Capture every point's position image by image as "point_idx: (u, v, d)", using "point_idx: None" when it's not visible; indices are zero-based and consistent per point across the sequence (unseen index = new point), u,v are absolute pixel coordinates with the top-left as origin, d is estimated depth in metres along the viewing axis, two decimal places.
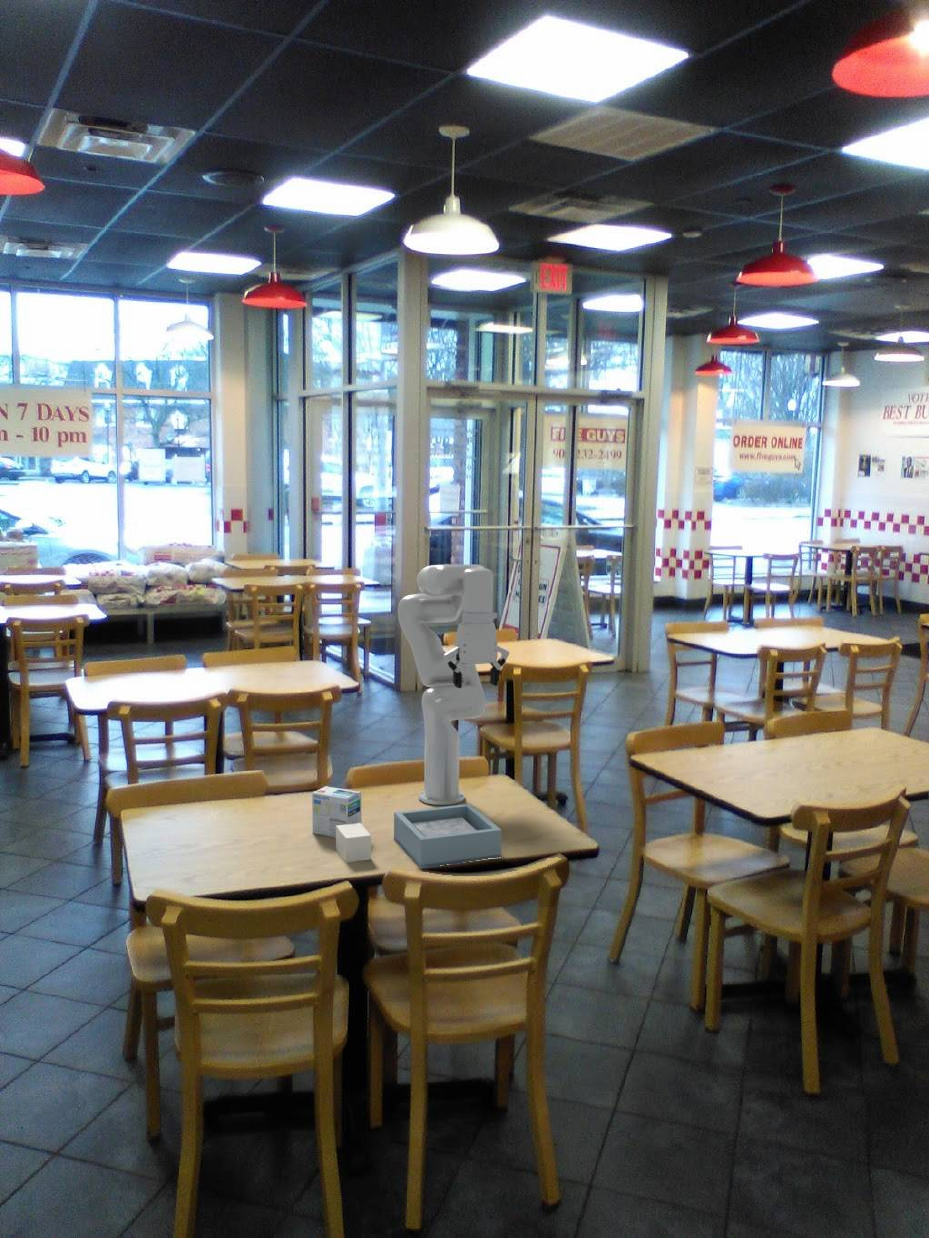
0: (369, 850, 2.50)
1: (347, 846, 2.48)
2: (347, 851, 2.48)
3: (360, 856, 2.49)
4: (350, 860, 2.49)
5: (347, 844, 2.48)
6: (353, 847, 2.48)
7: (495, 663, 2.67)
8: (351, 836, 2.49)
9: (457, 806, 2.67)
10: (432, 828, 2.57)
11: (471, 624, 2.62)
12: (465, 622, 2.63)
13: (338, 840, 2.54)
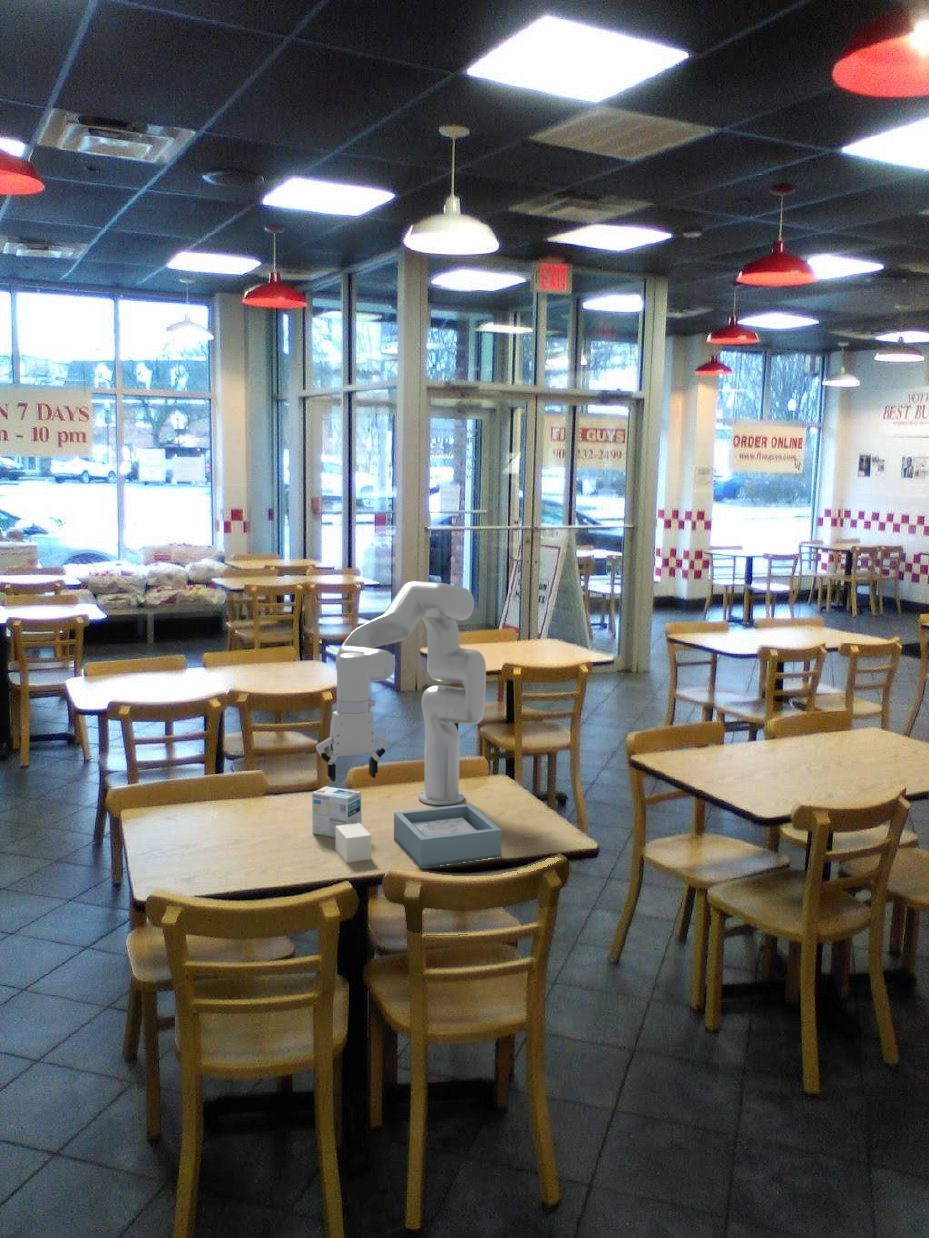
0: (369, 850, 2.50)
1: (348, 846, 2.48)
2: (348, 851, 2.48)
3: (360, 856, 2.49)
4: (351, 860, 2.49)
5: (348, 844, 2.48)
6: (353, 847, 2.48)
7: (373, 754, 2.50)
8: (351, 836, 2.49)
9: (457, 806, 2.67)
10: (432, 828, 2.57)
11: (345, 714, 2.45)
12: (339, 711, 2.46)
13: (338, 840, 2.54)
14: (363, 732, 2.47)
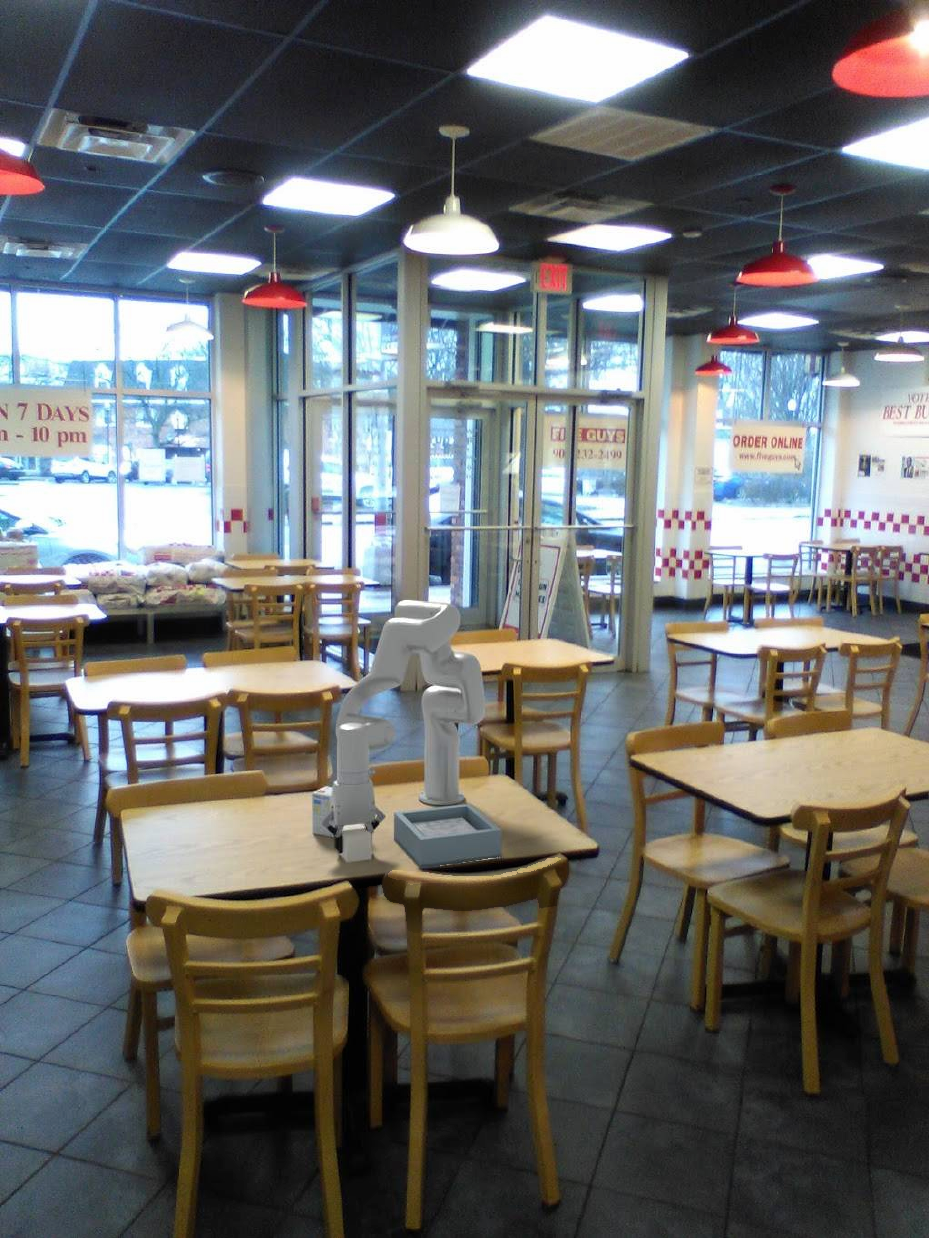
0: (370, 849, 2.50)
1: (348, 846, 2.48)
2: (348, 851, 2.48)
3: (361, 856, 2.50)
4: (351, 859, 2.49)
5: (348, 844, 2.48)
6: (354, 847, 2.48)
7: (369, 825, 2.52)
8: (352, 835, 2.49)
9: (457, 806, 2.67)
10: (432, 828, 2.57)
11: (345, 784, 2.47)
12: (339, 782, 2.48)
13: None
14: (363, 802, 2.50)
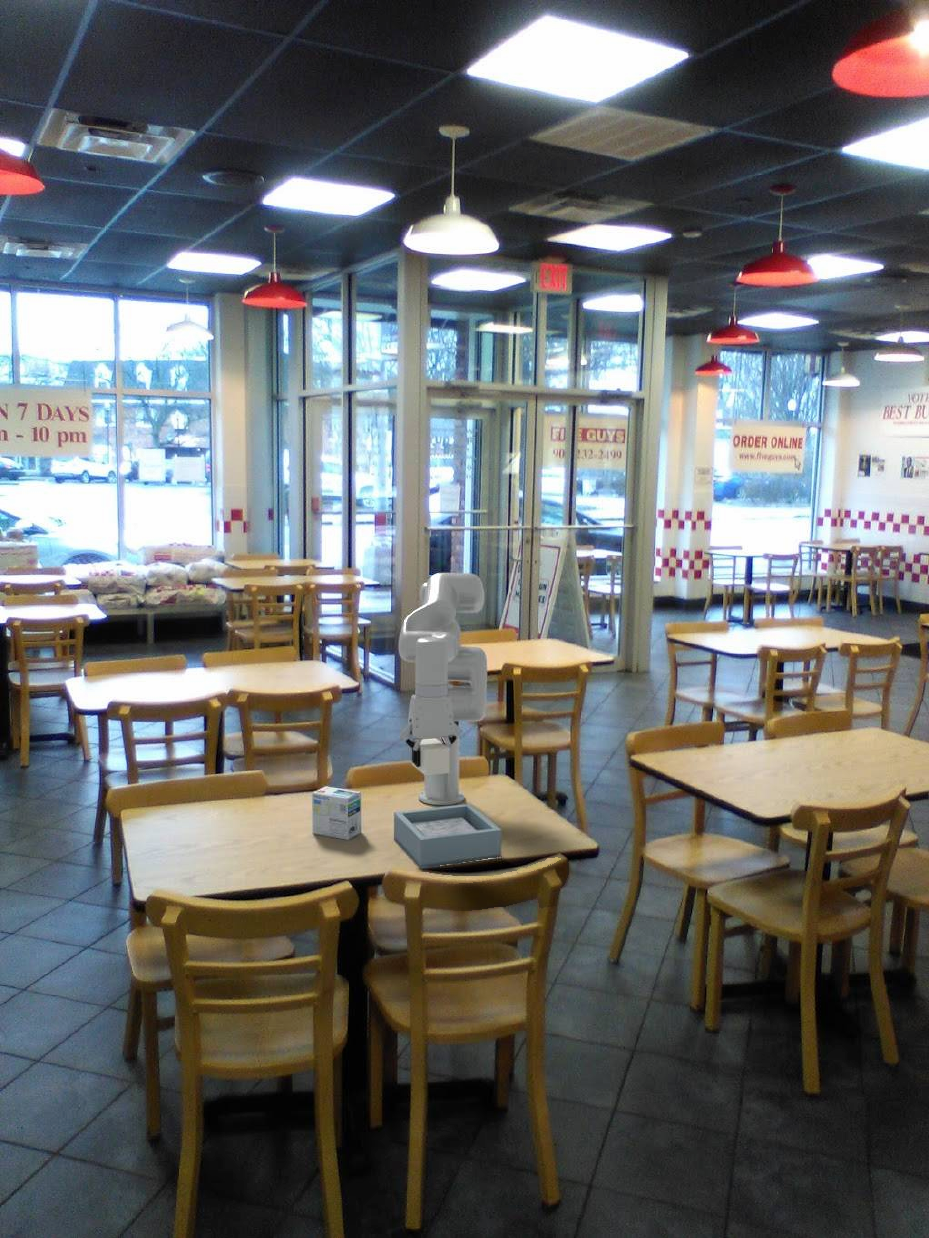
0: (447, 763, 2.51)
1: (426, 758, 2.48)
2: (426, 763, 2.49)
3: (439, 769, 2.50)
4: (429, 773, 2.49)
5: (426, 756, 2.48)
6: (432, 760, 2.49)
7: (446, 740, 2.53)
8: (430, 749, 2.49)
9: (457, 806, 2.67)
10: (432, 828, 2.57)
11: (424, 697, 2.48)
12: (418, 695, 2.49)
13: None
14: (441, 715, 2.50)
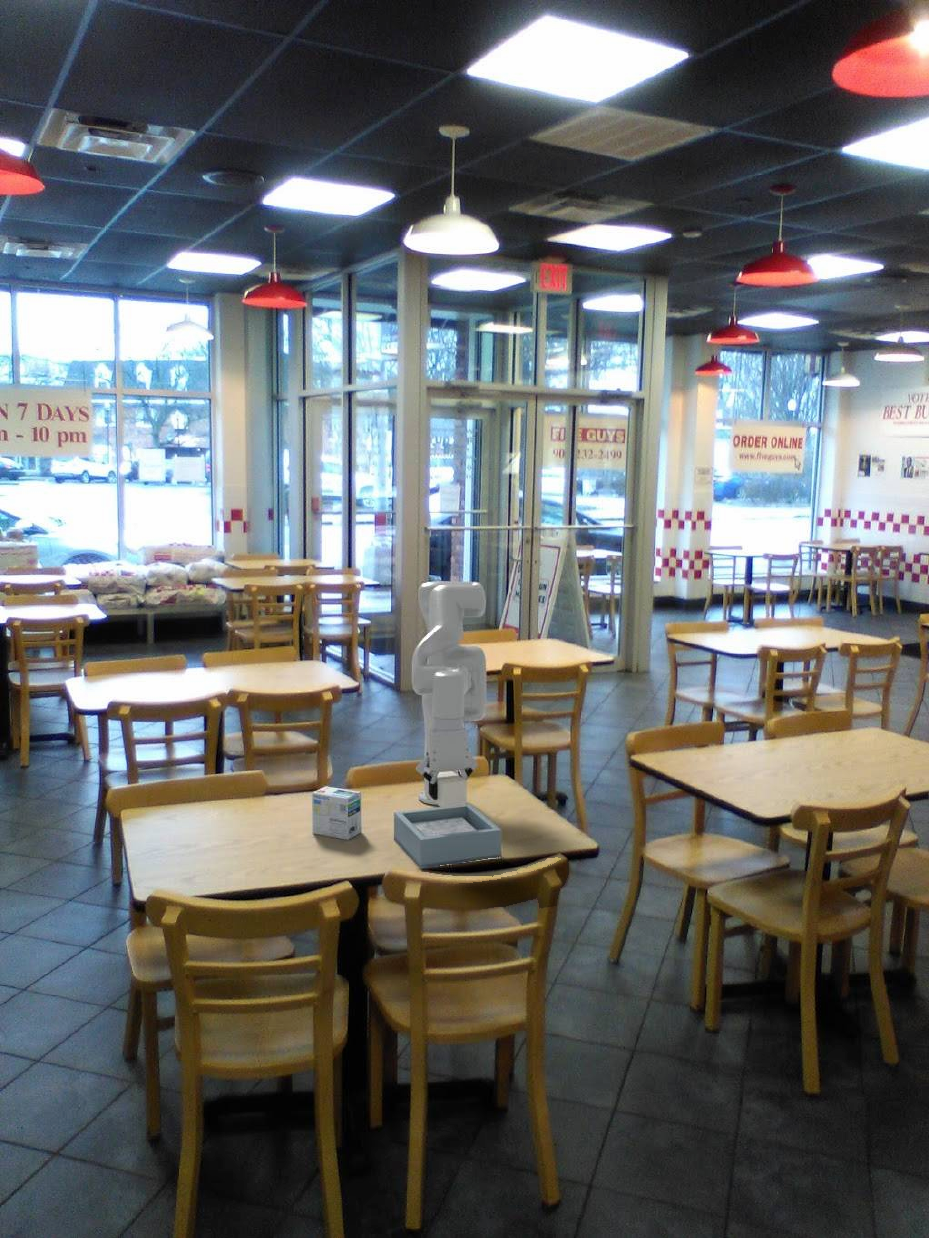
0: (465, 796, 2.52)
1: (444, 791, 2.50)
2: (444, 796, 2.50)
3: (456, 802, 2.52)
4: (447, 805, 2.51)
5: (444, 789, 2.50)
6: (449, 793, 2.51)
7: (463, 772, 2.55)
8: (448, 782, 2.51)
9: None
10: (432, 828, 2.57)
11: (441, 731, 2.50)
12: (435, 728, 2.51)
13: None
14: (458, 748, 2.52)
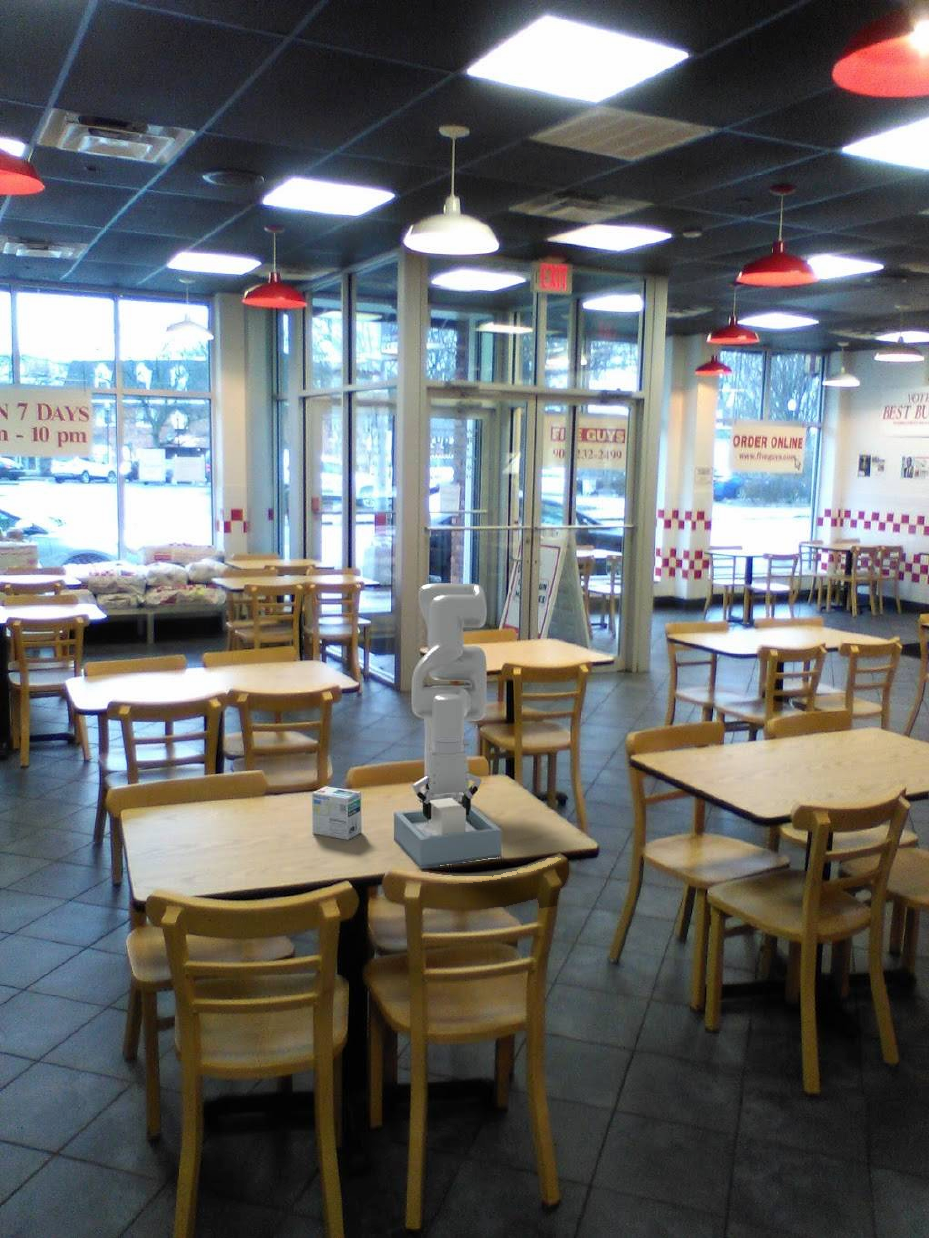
0: (464, 824, 2.54)
1: (443, 820, 2.51)
2: (443, 825, 2.52)
3: (455, 830, 2.53)
4: None
5: (443, 818, 2.51)
6: (448, 821, 2.52)
7: (466, 792, 2.56)
8: (447, 810, 2.52)
9: None
10: (432, 828, 2.57)
11: (441, 754, 2.51)
12: (435, 751, 2.52)
13: (432, 814, 2.57)
14: (458, 771, 2.53)
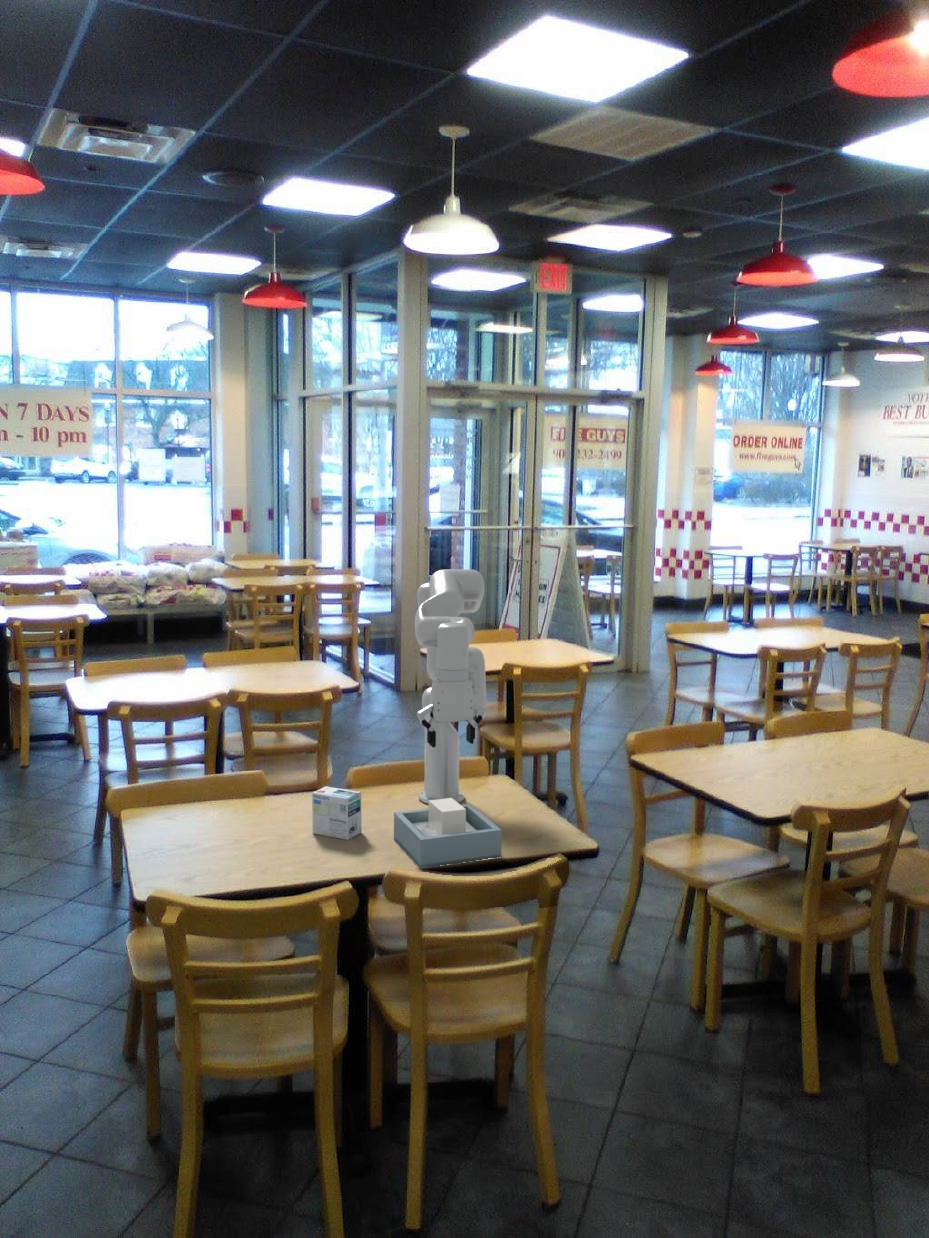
0: (464, 824, 2.54)
1: (443, 820, 2.51)
2: (443, 825, 2.52)
3: (455, 830, 2.53)
4: None
5: (443, 818, 2.51)
6: (448, 821, 2.52)
7: (471, 720, 2.57)
8: (447, 810, 2.52)
9: None
10: (432, 828, 2.57)
11: (445, 682, 2.51)
12: (439, 679, 2.52)
13: (432, 814, 2.57)
14: (462, 700, 2.54)
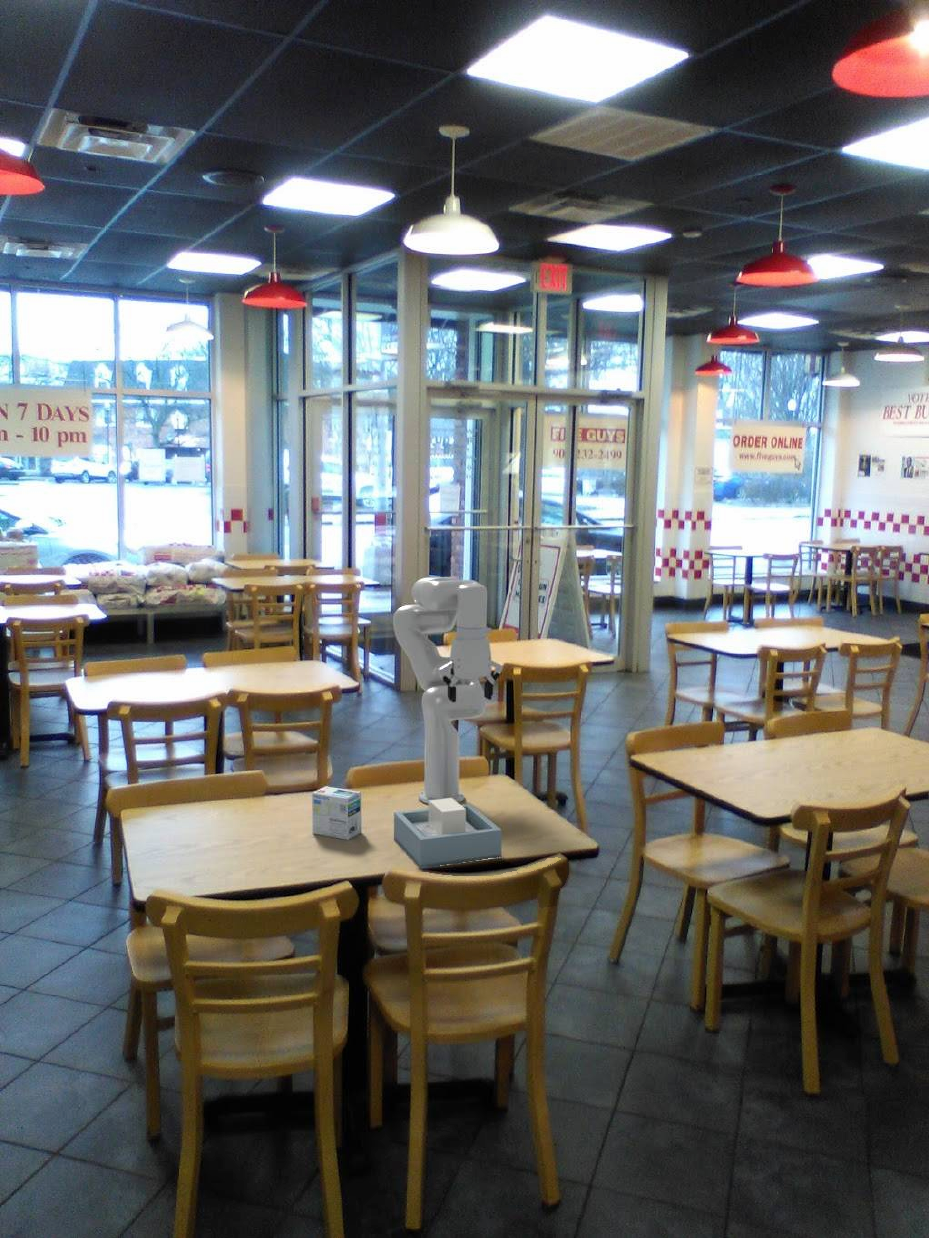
0: (464, 824, 2.54)
1: (443, 820, 2.51)
2: (443, 825, 2.52)
3: (455, 830, 2.53)
4: None
5: (443, 818, 2.51)
6: (448, 821, 2.52)
7: (489, 677, 2.72)
8: (447, 810, 2.52)
9: None
10: (432, 828, 2.57)
11: (465, 639, 2.66)
12: (459, 637, 2.67)
13: (432, 814, 2.57)
14: (481, 657, 2.69)
